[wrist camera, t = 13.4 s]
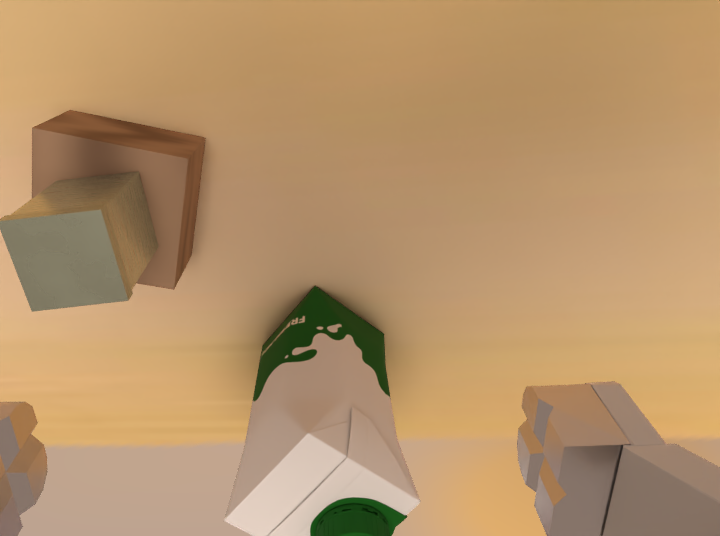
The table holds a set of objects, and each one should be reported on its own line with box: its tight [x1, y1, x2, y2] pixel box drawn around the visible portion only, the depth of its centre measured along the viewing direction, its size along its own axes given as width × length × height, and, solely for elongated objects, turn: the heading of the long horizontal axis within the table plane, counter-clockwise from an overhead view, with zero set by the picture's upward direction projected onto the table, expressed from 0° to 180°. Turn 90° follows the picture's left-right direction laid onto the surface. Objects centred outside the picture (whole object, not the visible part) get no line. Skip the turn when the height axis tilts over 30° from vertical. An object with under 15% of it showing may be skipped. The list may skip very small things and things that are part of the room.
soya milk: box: [224, 286, 420, 536], centre depth 40 cm, size 9×9×20 cm
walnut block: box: [32, 110, 205, 289], centre depth 41 cm, size 9×9×6 cm
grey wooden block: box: [0, 171, 159, 311], centre depth 35 cm, size 5×5×7 cm
